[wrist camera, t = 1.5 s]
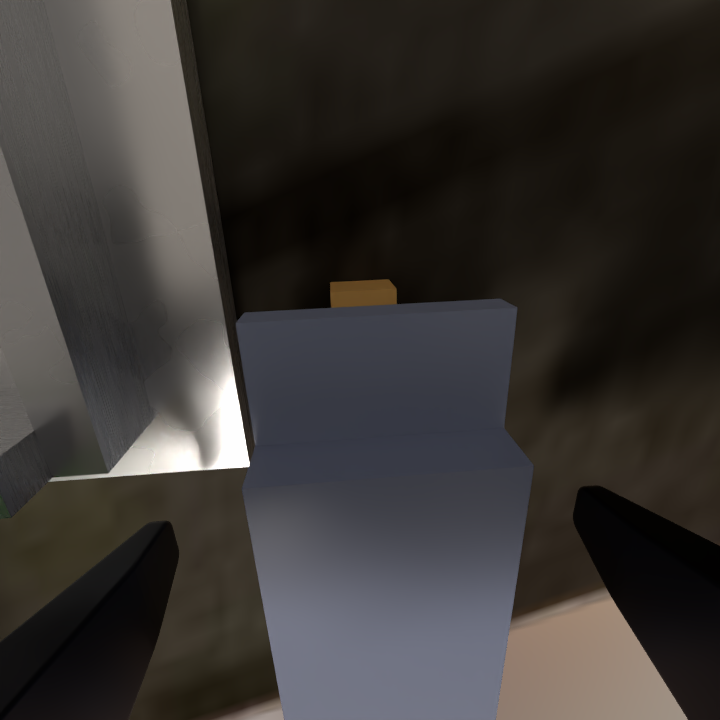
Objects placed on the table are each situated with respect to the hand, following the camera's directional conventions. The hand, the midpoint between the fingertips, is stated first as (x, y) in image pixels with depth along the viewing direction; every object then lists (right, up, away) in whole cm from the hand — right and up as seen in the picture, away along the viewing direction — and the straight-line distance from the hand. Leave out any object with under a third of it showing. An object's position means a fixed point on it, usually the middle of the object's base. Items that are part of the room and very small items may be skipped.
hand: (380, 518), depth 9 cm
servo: (0, +1, +2) cm, 3 cm away
